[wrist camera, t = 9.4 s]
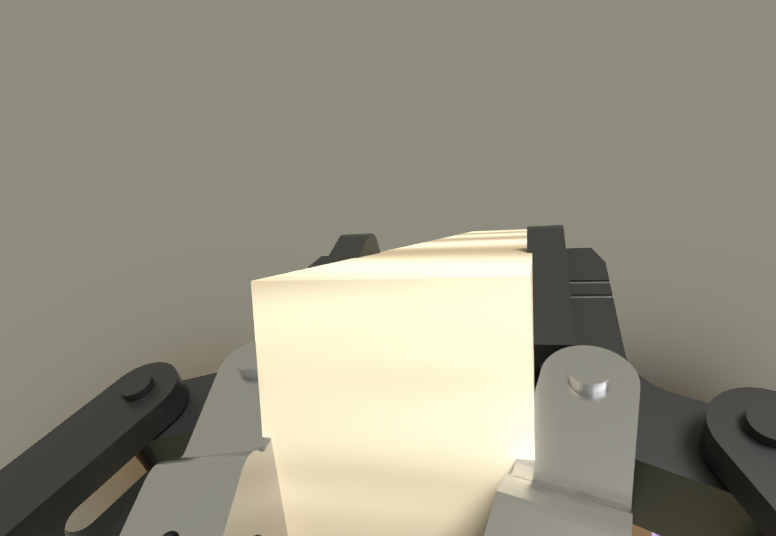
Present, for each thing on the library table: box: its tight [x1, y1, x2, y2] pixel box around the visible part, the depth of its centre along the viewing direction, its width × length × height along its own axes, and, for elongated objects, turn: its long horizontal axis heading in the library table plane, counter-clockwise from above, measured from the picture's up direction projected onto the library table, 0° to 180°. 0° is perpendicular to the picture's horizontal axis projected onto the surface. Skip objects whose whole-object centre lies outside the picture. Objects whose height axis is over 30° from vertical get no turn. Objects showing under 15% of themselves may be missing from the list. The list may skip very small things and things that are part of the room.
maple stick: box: [251, 229, 535, 536], centre depth 17 cm, size 24×4×4 cm, turn 163°
